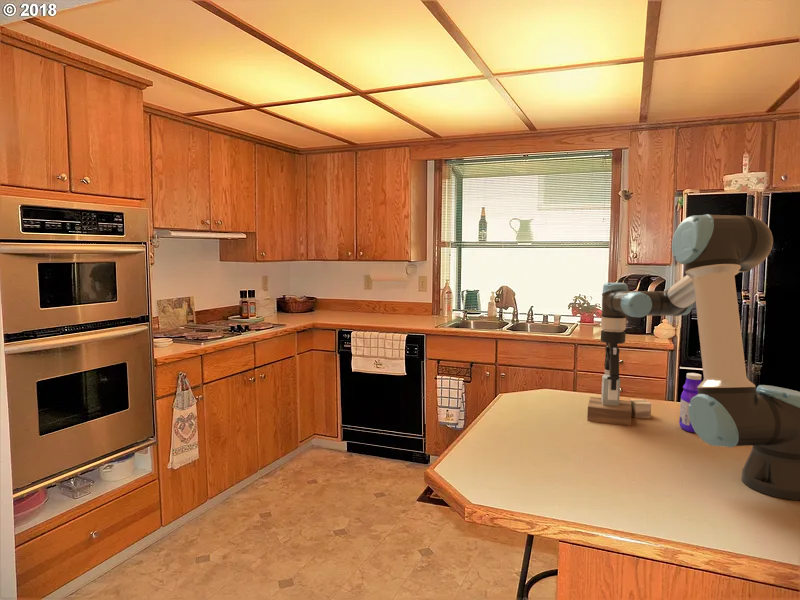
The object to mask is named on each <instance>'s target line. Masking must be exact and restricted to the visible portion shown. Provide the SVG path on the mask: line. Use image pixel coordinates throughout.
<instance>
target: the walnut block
mask: <svg viewBox="0 0 800 600" xmlns="http://www.w3.org/2000/svg"><path fill="white" fill-rule="evenodd" d="M587 404H588V405H587V421H588V422H589V421H590V422H594V423H595V422H596V423H604V424H612V425H613V424H614V425H619V426H621V425H622V426H628V425H629V426H632V415H631V413H632V410H631V401H630V400H623V399H619V407H618V406H605V405H602V402H601V397H594V396H590V397H589V401H588V403H587Z"/></svg>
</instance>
